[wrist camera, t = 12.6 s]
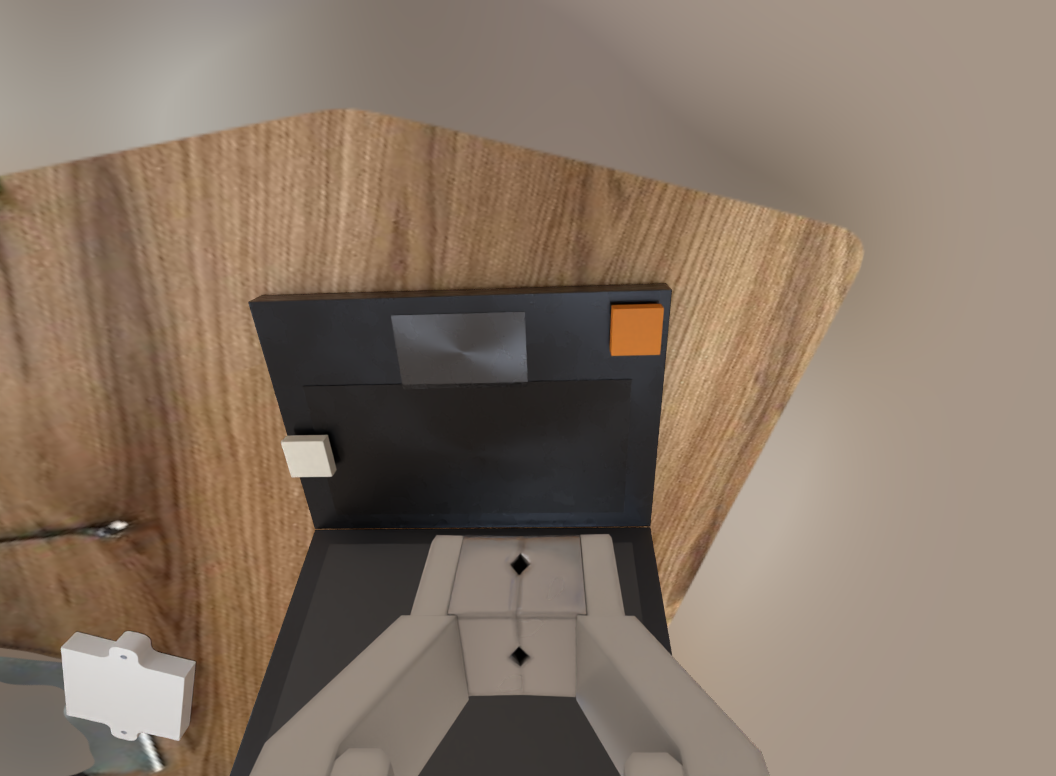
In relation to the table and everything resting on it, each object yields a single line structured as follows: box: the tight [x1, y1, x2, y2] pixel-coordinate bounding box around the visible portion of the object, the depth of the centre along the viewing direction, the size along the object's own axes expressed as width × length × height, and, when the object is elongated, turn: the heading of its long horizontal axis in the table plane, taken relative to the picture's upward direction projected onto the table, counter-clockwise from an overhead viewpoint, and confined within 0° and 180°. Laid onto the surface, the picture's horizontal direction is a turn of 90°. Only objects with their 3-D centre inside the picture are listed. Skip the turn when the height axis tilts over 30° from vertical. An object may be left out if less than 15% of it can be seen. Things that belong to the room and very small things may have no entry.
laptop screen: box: [230, 527, 672, 776], centre depth 36 cm, size 21×30×1 cm
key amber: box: [610, 304, 664, 356], centre depth 34 cm, size 3×3×1 cm
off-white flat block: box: [281, 435, 337, 477], centre depth 39 cm, size 3×3×1 cm
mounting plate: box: [61, 631, 196, 741], centre depth 57 cm, size 18×13×2 cm
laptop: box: [248, 283, 672, 529], centre depth 40 cm, size 21×30×2 cm
